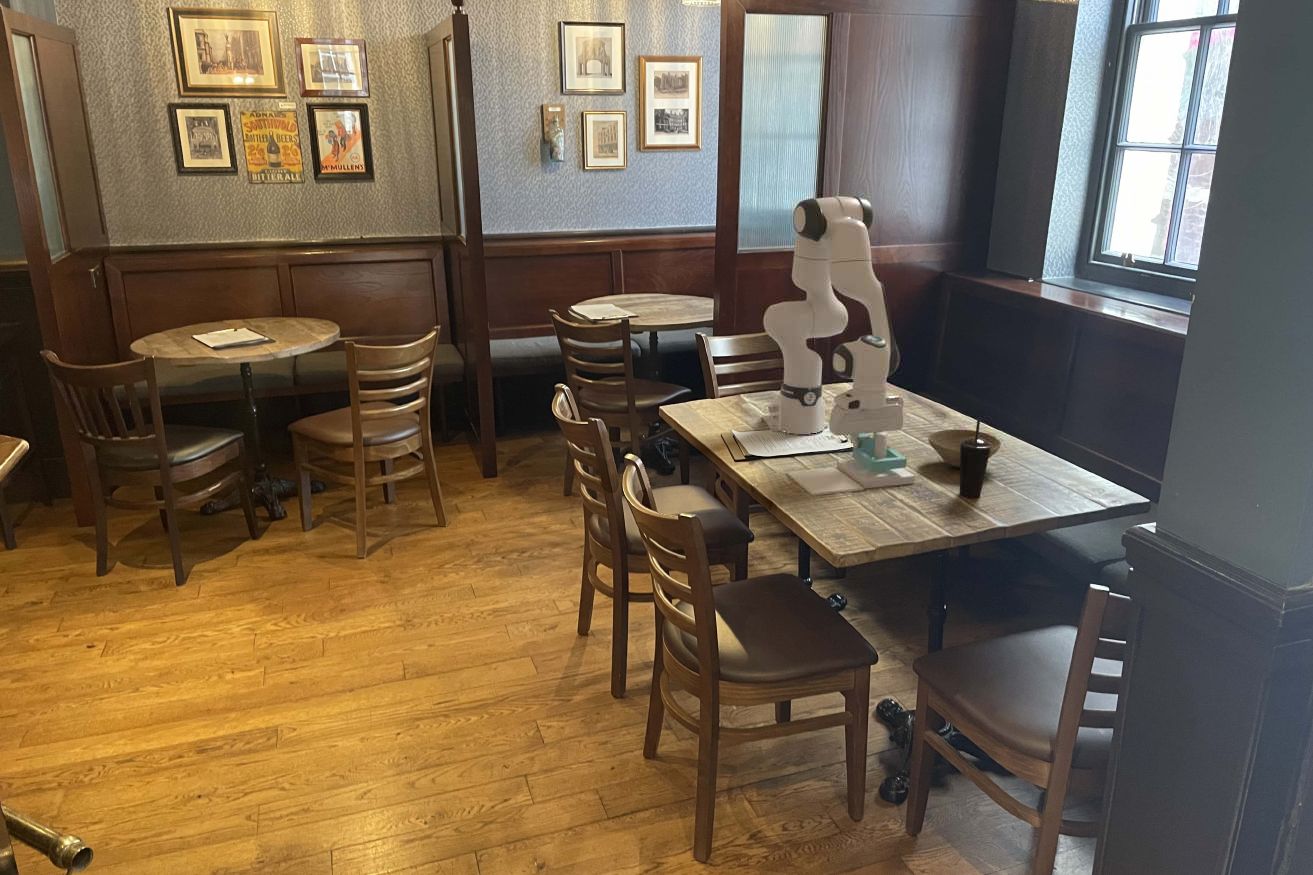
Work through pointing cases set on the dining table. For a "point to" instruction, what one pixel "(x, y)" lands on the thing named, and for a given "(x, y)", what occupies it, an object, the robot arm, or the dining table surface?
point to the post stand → (875, 477)
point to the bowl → (957, 444)
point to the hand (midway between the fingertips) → (864, 447)
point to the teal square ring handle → (867, 455)
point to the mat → (824, 481)
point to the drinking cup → (973, 464)
